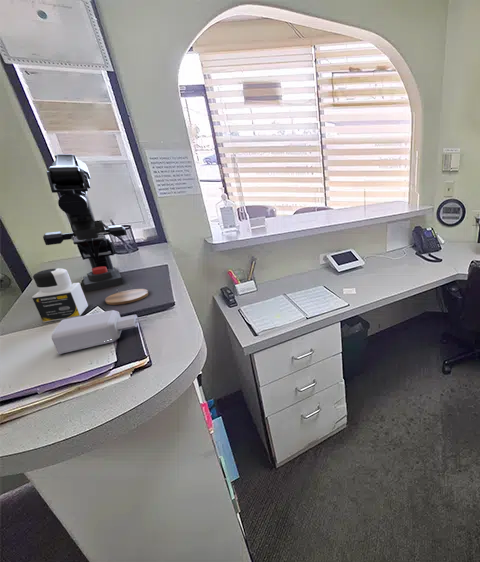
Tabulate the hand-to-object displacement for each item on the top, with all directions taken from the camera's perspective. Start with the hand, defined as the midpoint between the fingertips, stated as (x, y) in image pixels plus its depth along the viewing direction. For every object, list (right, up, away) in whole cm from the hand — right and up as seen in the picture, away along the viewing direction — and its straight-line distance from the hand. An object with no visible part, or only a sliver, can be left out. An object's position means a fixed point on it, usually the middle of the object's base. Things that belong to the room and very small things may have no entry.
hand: (96, 261), depth 98 cm
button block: (0, -7, +3) cm, 8 cm away
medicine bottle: (+9, -15, -18) cm, 25 cm away
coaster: (+17, -11, -8) cm, 22 cm away
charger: (+29, -19, -28) cm, 45 cm away
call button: (0, -4, +2) cm, 4 cm away
